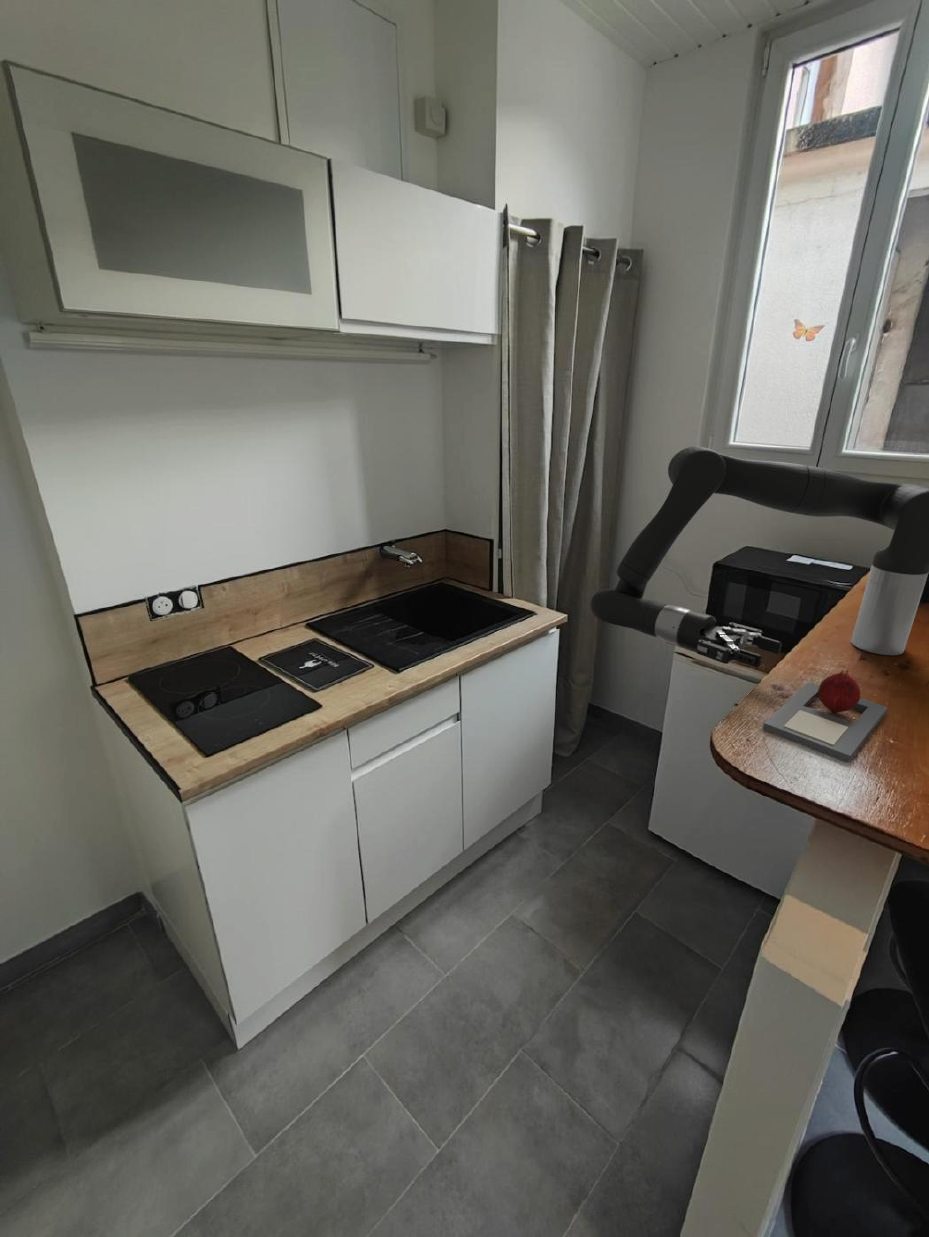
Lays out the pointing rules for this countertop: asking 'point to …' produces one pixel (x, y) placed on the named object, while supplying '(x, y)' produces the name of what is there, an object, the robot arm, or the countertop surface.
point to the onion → (839, 692)
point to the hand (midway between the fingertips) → (771, 654)
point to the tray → (824, 725)
